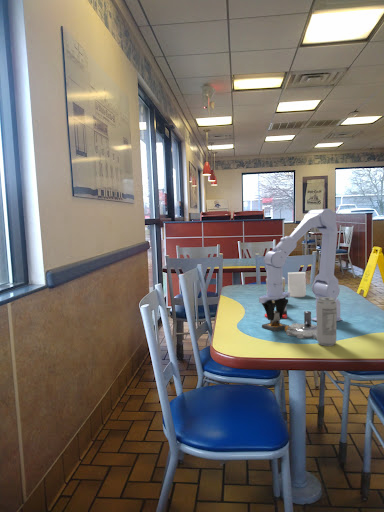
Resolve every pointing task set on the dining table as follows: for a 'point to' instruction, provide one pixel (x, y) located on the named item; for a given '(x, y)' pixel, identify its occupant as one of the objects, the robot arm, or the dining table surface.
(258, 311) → the dining table surface
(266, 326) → the pad
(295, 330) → the sprocket
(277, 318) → the roller
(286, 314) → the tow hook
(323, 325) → the energy drink can
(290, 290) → the white upright block
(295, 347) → the dining table surface
